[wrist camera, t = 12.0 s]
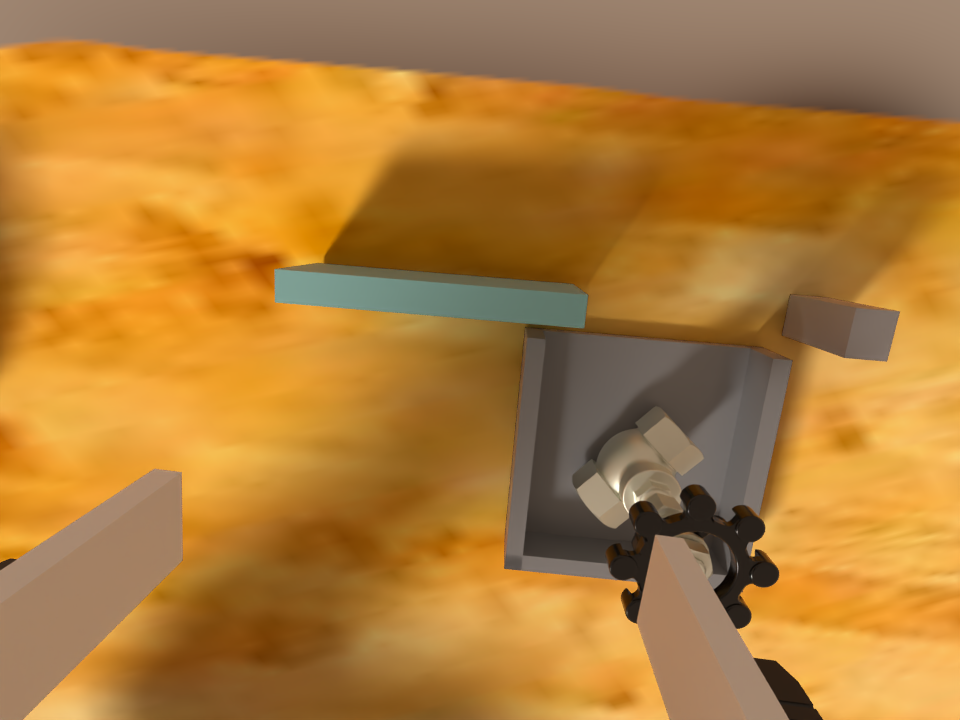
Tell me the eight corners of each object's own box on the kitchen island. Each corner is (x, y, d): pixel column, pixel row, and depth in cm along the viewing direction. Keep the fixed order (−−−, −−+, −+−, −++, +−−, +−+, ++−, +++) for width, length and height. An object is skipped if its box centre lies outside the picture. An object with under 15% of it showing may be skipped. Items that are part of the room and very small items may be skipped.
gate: (569, 311, 31) (584, 328, 26) (317, 290, 32) (274, 302, 26) (572, 284, 31) (588, 295, 25) (317, 263, 32) (274, 269, 26)
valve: (705, 455, 33) (815, 578, 21) (621, 522, 34) (681, 672, 22) (634, 378, 32) (708, 461, 20) (550, 449, 33) (574, 566, 21)
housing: (766, 562, 35) (818, 627, 29) (504, 536, 35) (504, 596, 29) (825, 297, 31) (899, 311, 25) (530, 273, 31) (535, 281, 26)
